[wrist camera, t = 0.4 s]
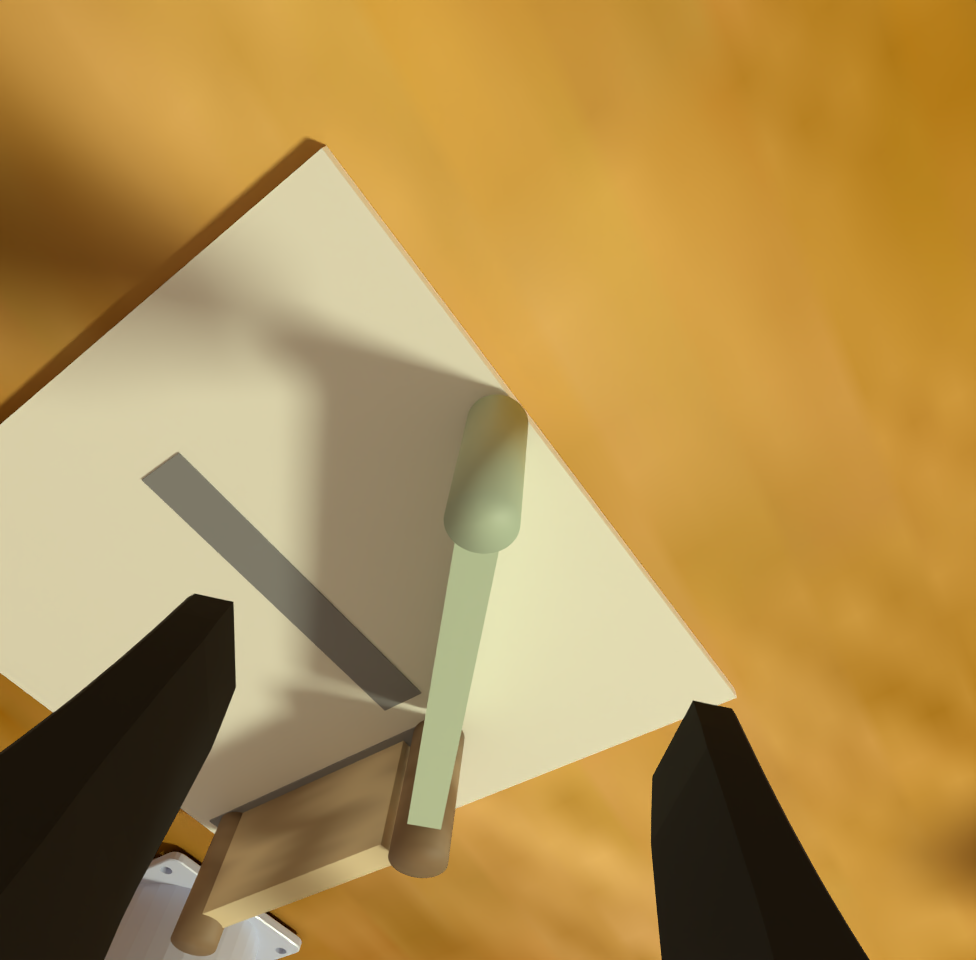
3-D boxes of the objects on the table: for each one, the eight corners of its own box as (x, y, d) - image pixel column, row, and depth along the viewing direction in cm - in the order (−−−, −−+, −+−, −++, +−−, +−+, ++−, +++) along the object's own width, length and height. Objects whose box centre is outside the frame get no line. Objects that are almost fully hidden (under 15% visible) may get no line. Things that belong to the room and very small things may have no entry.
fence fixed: (243, 841, 31) (197, 961, 27) (211, 817, 30) (158, 936, 26) (474, 742, 26) (460, 867, 23) (443, 711, 26) (422, 834, 22)
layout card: (278, 870, 32) (275, 880, 32) (-144, 549, 25) (-156, 557, 24) (734, 688, 25) (737, 699, 24) (326, 145, 17) (321, 148, 17)
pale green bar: (465, 723, 26) (448, 850, 22) (418, 715, 26) (393, 840, 22) (533, 400, 19) (527, 497, 15) (471, 389, 19) (448, 483, 15)
